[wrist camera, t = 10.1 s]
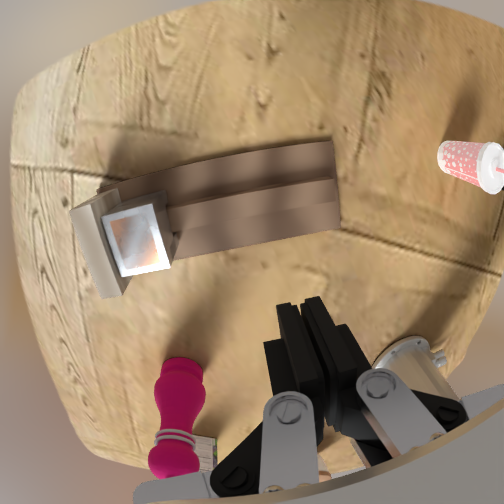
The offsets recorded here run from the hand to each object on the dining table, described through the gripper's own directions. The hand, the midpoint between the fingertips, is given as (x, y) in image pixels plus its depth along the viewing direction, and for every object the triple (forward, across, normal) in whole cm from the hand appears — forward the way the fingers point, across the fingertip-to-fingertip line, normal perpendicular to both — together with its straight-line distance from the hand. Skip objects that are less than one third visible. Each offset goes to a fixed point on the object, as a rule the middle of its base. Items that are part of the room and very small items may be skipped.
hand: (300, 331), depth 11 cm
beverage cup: (+22, -28, -3) cm, 36 cm away
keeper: (+21, +11, -1) cm, 23 cm away
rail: (+22, +3, -1) cm, 22 cm away
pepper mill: (+22, +14, +22) cm, 35 cm away
